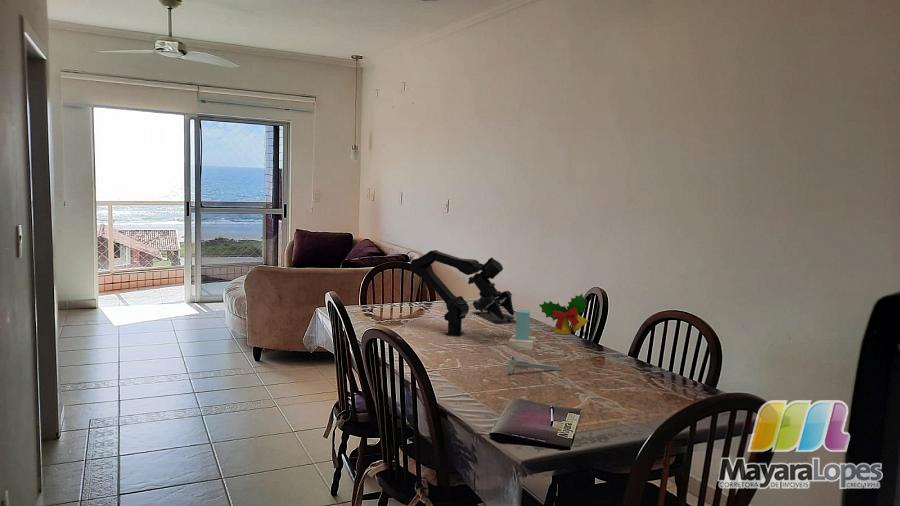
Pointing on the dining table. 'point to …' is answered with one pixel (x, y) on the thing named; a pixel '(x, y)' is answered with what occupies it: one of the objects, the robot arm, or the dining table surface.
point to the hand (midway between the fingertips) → (508, 317)
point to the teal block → (522, 325)
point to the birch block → (522, 343)
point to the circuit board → (495, 317)
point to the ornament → (566, 314)
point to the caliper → (528, 365)
